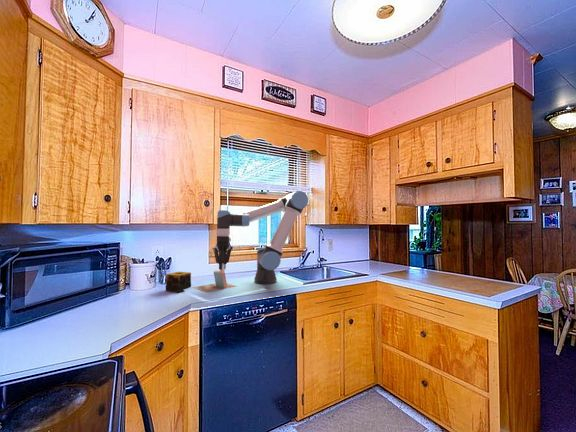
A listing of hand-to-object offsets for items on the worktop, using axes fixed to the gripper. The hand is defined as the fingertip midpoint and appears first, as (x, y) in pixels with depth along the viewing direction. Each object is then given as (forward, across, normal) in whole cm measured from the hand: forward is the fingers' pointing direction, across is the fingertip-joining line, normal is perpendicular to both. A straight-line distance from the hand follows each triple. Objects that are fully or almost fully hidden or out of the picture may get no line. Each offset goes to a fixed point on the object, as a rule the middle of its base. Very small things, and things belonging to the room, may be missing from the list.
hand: (222, 274), depth 160 cm
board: (+8, +3, -2) cm, 9 cm away
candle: (+9, +20, -14) cm, 26 cm away
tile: (+7, 0, 0) cm, 7 cm away
